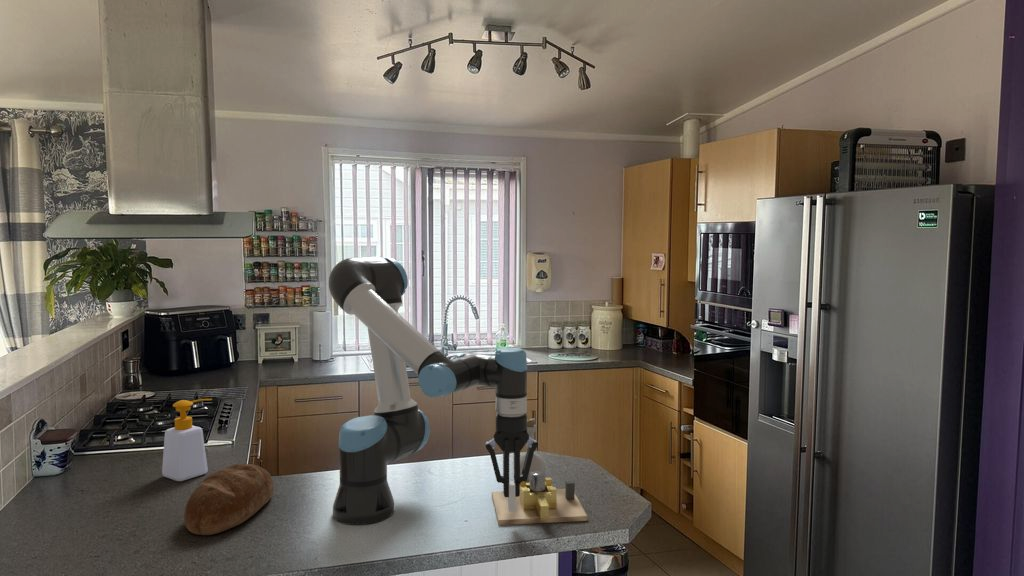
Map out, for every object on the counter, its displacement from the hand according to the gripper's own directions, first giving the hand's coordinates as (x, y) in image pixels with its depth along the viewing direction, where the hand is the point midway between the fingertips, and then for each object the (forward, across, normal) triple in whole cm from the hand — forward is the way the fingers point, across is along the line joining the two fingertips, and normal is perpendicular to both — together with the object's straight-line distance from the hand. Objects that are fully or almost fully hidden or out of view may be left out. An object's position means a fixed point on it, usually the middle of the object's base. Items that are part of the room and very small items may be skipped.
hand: (511, 509), depth 158 cm
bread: (+4, -69, +16) cm, 71 cm away
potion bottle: (+4, +9, +30) cm, 31 cm away
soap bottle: (+3, -89, +46) cm, 100 cm away
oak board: (+4, +8, +10) cm, 13 cm away
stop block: (+3, +17, +12) cm, 21 cm away
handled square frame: (+3, +8, +6) cm, 10 cm away
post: (+4, +8, +10) cm, 13 cm away
